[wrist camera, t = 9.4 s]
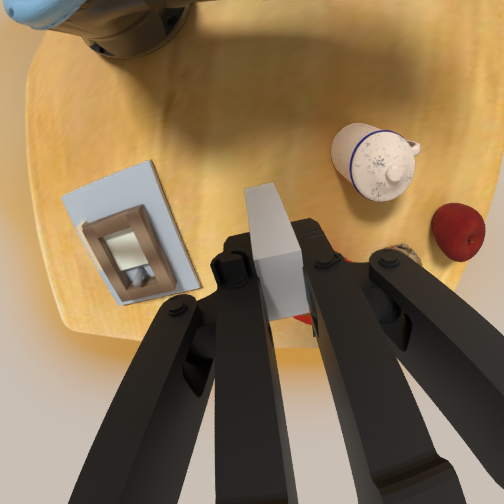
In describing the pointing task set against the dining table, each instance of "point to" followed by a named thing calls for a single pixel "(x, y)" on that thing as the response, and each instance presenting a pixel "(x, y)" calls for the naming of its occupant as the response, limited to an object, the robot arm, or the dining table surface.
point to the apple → (458, 231)
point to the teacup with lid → (374, 160)
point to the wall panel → (124, 197)
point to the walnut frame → (130, 252)
